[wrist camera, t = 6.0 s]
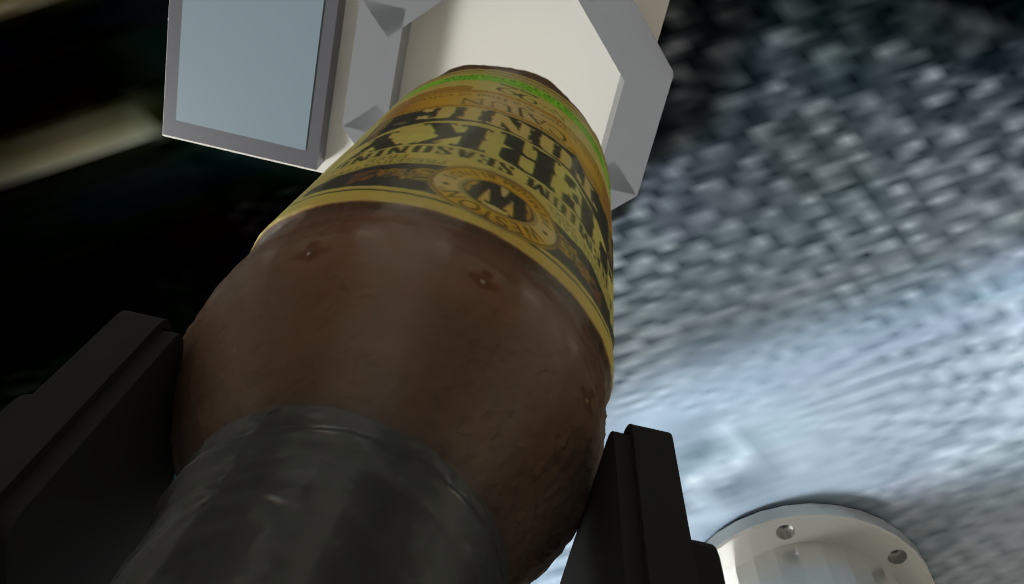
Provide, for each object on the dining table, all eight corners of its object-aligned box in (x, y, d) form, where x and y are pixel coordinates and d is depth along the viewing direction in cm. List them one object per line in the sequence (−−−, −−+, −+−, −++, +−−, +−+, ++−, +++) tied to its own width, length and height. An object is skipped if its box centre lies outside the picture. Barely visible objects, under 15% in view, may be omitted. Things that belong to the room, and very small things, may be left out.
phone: (356, -78, 31) (348, -77, 30) (324, 161, 35) (315, 170, 34) (189, -119, 31) (174, -119, 30) (175, 126, 35) (161, 134, 33)
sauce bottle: (650, 124, 23) (923, 999, 5) (537, 311, 25) (436, 1349, 7) (431, 3, 22) (-243, 518, 4) (336, 209, 24) (-345, 1103, 6)
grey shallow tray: (691, -32, 32) (703, -24, 29) (610, 243, 37) (613, 273, 34) (190, -155, 31) (152, -159, 28) (174, 141, 36) (139, 164, 33)
